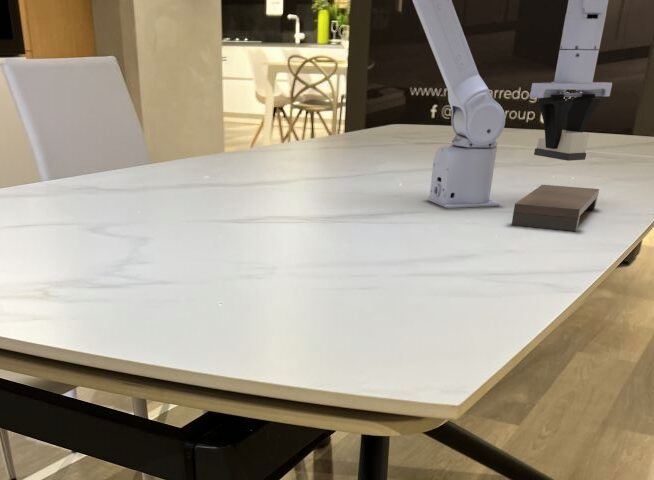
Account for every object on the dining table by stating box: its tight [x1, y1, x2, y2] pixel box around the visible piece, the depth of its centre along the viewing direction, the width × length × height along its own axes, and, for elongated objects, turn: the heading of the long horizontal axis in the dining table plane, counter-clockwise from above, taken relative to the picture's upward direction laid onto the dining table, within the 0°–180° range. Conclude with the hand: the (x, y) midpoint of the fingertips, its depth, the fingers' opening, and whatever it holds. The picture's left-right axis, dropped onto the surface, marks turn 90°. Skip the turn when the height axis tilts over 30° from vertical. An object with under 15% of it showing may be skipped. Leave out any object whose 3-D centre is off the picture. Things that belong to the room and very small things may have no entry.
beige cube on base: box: [533, 129, 590, 162], centre depth 120 cm, size 8×4×4 cm, turn 24°
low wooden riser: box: [511, 184, 600, 232], centre depth 114 cm, size 20×9×3 cm, turn 152°
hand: (560, 147), depth 120 cm, fingers closed on beige cube on base, 3 cm apart
